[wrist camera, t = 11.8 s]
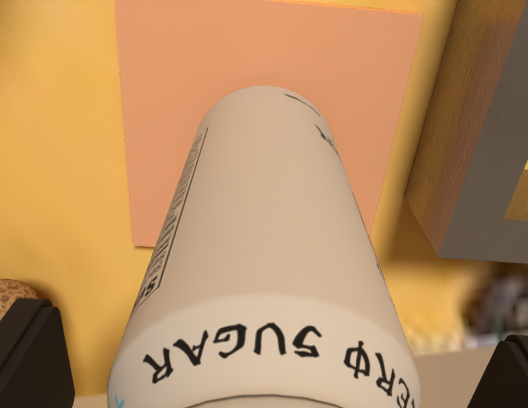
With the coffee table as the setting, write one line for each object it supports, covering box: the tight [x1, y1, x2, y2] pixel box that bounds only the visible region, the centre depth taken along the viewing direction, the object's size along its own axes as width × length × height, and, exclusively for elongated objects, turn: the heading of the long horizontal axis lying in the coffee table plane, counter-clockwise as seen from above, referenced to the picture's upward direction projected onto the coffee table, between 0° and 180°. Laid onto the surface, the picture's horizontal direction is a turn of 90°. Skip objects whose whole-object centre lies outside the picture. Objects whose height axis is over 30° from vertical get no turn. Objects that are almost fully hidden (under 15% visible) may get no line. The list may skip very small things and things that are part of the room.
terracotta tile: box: [115, 0, 424, 247], centre depth 21 cm, size 12×12×1 cm
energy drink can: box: [107, 85, 422, 408], centre depth 14 cm, size 6×6×15 cm
